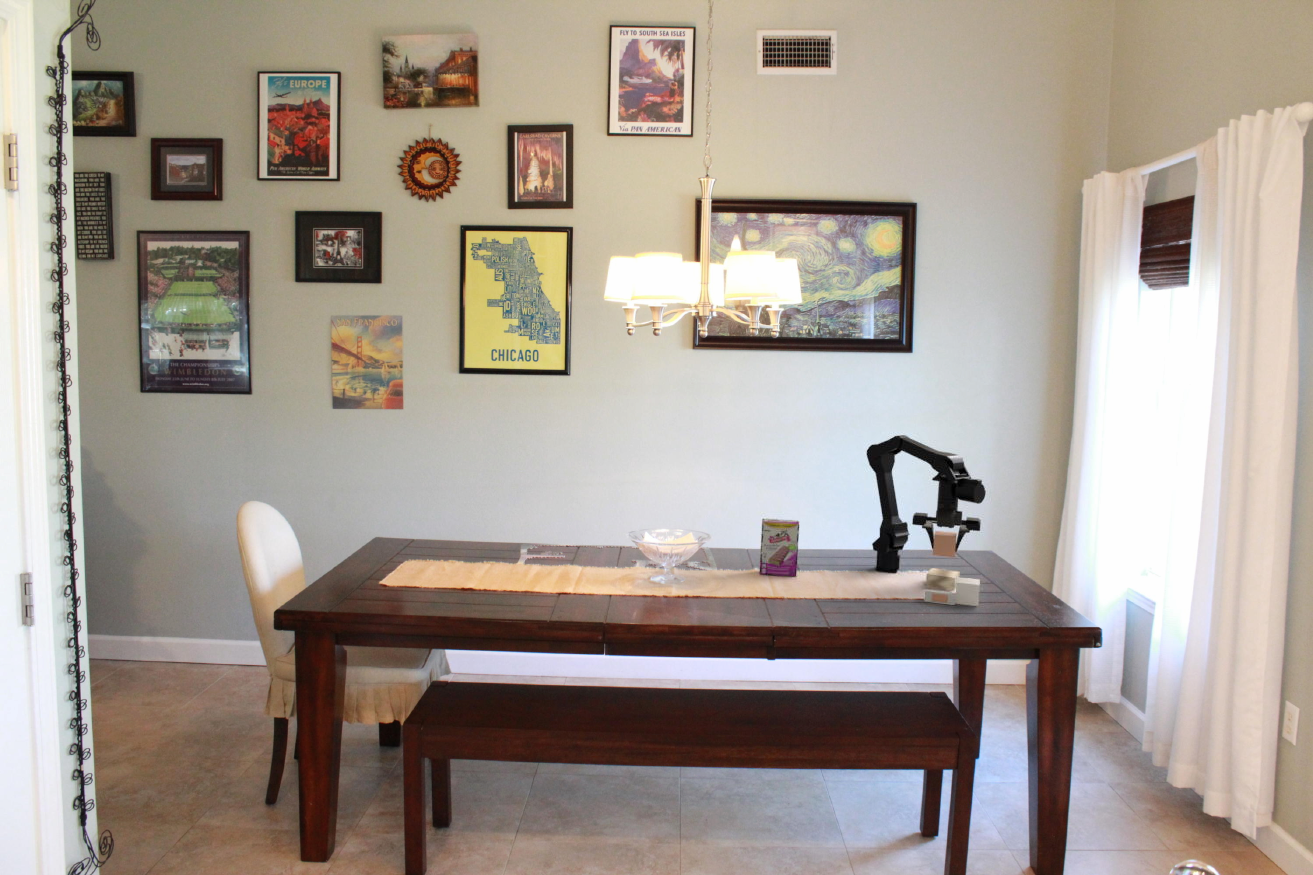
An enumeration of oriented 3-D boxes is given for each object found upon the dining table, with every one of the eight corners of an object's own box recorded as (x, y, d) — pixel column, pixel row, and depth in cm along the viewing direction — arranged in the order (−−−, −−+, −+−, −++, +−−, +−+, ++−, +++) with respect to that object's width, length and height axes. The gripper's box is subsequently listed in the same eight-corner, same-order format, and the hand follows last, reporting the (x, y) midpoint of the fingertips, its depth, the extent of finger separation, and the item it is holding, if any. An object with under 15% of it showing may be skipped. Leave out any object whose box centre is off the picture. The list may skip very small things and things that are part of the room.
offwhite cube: (954, 603, 247) (956, 582, 247) (955, 597, 253) (956, 577, 252) (978, 606, 245) (979, 584, 245) (978, 600, 251) (979, 579, 250)
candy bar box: (759, 575, 271) (761, 521, 269) (759, 570, 276) (761, 518, 274) (797, 577, 270) (799, 523, 268) (796, 572, 275) (798, 519, 273)
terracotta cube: (932, 555, 263) (934, 534, 262) (934, 550, 268) (935, 530, 268) (954, 557, 261) (956, 537, 260) (955, 552, 266) (956, 532, 266)
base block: (925, 587, 264) (926, 573, 263) (930, 580, 271) (931, 567, 270) (954, 591, 260) (955, 577, 260) (958, 585, 267) (959, 571, 267)
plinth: (924, 601, 248) (924, 590, 248) (924, 599, 250) (925, 589, 249) (954, 605, 245) (955, 594, 245) (954, 603, 247) (955, 592, 247)
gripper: (912, 499, 258) (909, 553, 260) (982, 505, 252) (978, 560, 254) (915, 493, 269) (912, 544, 270) (982, 499, 262) (978, 551, 264)
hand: (944, 550), depth 264 cm, fingers closed on terracotta cube, 6 cm apart
